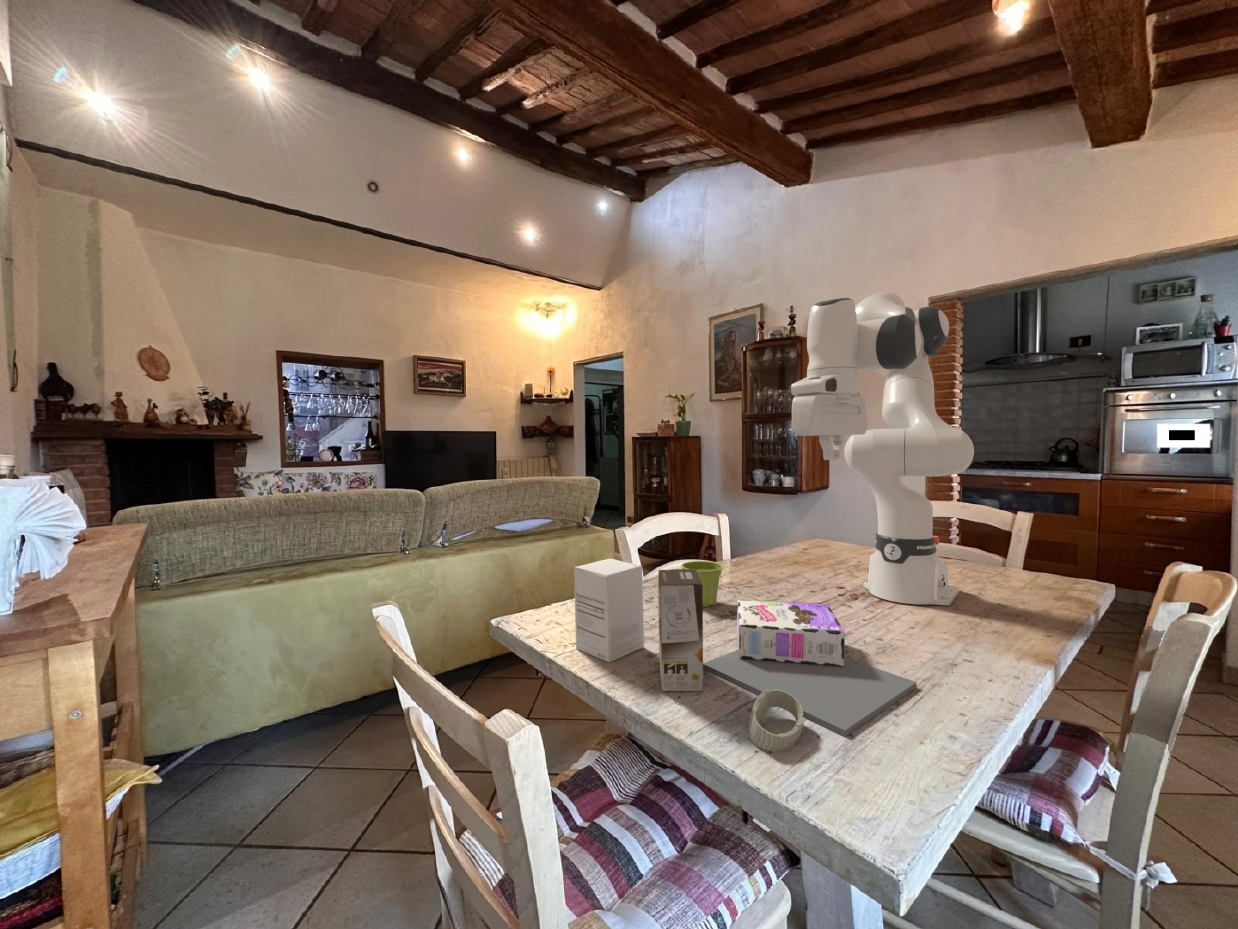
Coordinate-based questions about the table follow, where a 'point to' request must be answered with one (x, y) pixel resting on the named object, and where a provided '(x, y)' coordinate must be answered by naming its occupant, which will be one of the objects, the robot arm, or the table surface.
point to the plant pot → (707, 578)
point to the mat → (819, 687)
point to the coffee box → (680, 630)
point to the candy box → (789, 632)
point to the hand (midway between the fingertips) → (831, 459)
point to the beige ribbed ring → (769, 739)
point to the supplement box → (609, 609)
